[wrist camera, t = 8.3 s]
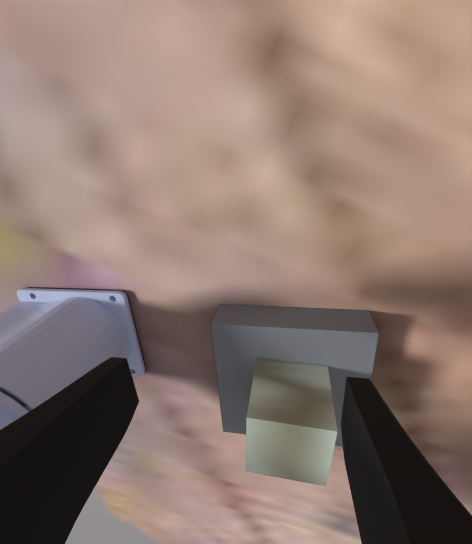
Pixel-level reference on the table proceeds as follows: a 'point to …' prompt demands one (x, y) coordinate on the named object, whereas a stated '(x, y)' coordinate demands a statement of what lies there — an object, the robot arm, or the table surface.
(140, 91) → the table surface
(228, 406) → the grey base block
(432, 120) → the table surface
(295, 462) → the green cube
